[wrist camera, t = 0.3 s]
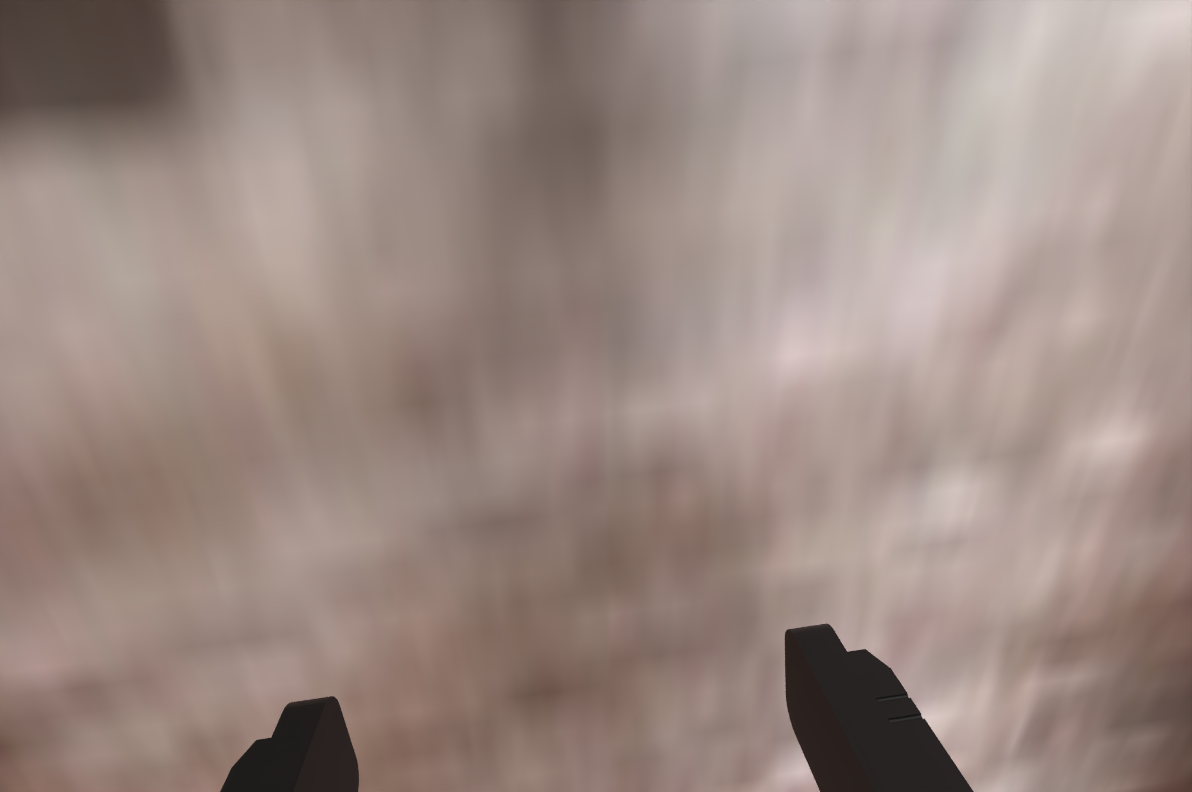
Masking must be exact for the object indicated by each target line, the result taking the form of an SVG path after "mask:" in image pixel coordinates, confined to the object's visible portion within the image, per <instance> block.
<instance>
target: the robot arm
mask: <svg viewBox="0 0 1192 792" xmlns="http://www.w3.org/2000/svg"><path fill="white" fill-rule="evenodd" d="M785 677H786V701H787V708H788V712H789V717H790V720H791V724H792V727H793V730H794V732H795V735H796V737H797V740H798V742H799V744H800V746H801V749H802V751H803V753H804V756H805V758H806V760H807V762H808V765H809V767H810V769H811V772H812V774H813V776H814V778H815V781H816V783H817V785H818V788H819V790H820V792H973V790H972V789H971V787H970V786H969V784H968V783H967V781H966V780H965V778H964V777H963V775H962V774H961V772H960V771H959V769H958V768H957V766H956V765H955V763H954V762H953V760H952V759H951V758H950V756H949V755H948V753H947V752H946V750H945V749H944V747H943V746H942V744H941V743H940V741H939V740H938V738H937V737H936V735H935V734H934V732H933V731H932V729H931V728H930V726H929V725H928V723H927V722H926V720H925V719H922V717H921V713H920V711H919V710H918V708H917V707H916V705H915V704H914V702H913V701H912V699H911V698H908V695H907V692H906V690H905V689H904V687H903V686H902V684H901V683H900V681H899V680H898V679H897V677H896V676H895V674H894V673H893V671H892V670H891V668H889V667H888V666H887V665H885V664H884V663H883V662H881V661H880V660H879V659H877V658H876V657H875V656H873V655H872V654H871V653H870V652H868V651H867V650H866V649H863V650H857V651H850V652H847V651H846V649H845V648H844V646H843V644H842V643H841V641H840V639H839V638H838V636H837V634H836V633H835V631H834V630H833V628H832V627H831V626H830V625H829V624H821V625H814V626H808V627H801V628H794V629H788V630H786V633H785ZM358 786H359V771H358V763H357V759H356V755H355V752H354V749H353V746H352V743H351V739H350V736H349V733H348V730H347V727H346V724H345V721H344V717H343V714H342V711H341V708H340V705H339V702H338V700H337V699H336V698H335V697H333V696H331V697H324V698H318V699H311V700H304V701H298V702H291V703H289V704H288V705H286V707H285V708H284V710H283V712H282V714H281V717H280V719H279V721H278V724H277V726H276V728H275V731H274V733H273V735H272V737H271V738H266V739H260V740H256V741H255V742H254V743H253V744H252V746H251V747H250V748H249V749H248V750H247V751H246V752H245V753H244V755H243V756H242V757H241V758H240V759H239V760H238V761H237V762H236V764H235V765H234V766H233V767H232V768H231V770H230V772H229V775H228V777H227V779H226V781H225V783H224V785H223V787H222V789H221V791H220V792H358Z"/></svg>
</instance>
